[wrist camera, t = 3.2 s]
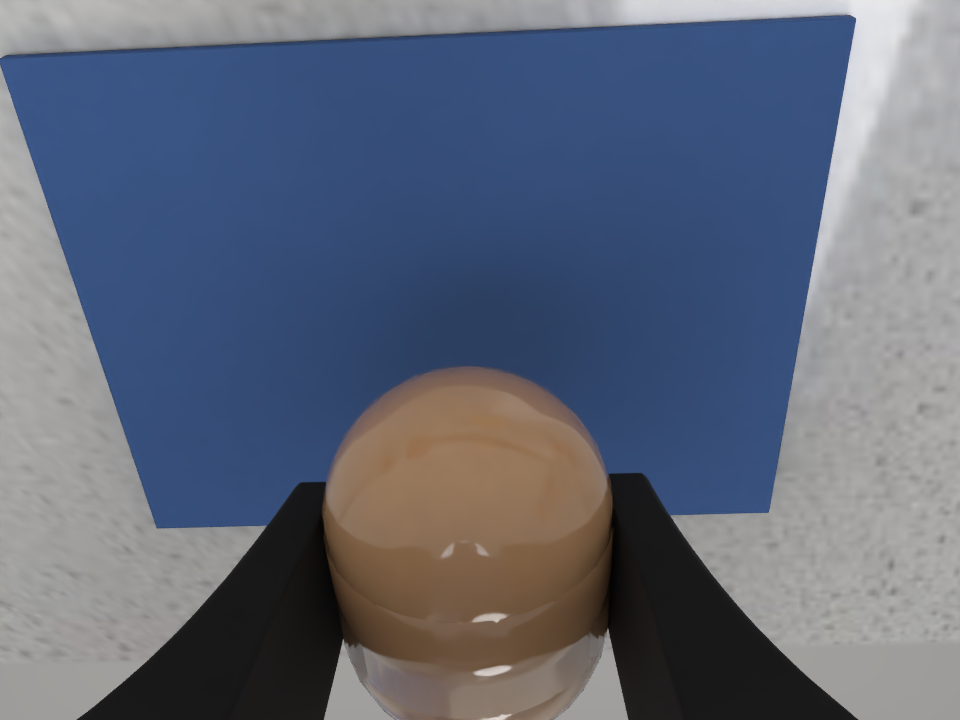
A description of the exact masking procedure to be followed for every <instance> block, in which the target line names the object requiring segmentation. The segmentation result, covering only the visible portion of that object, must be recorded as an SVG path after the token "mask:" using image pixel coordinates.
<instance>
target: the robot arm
mask: <svg viewBox="0 0 960 720" xmlns="http://www.w3.org/2000/svg"><path fill="white" fill-rule="evenodd" d="M608 475H609V478H610V481H611V484H612V501H613V518H614V529H613V550H612V571H611V592H610V613H609V625H608V629H609V634H610V639H611V643H612V648H613V652H614V657H615V661H616V666H617V671H618V675H619V679H620V684H621V688H622V693H623V697H624V702H625V706H626V711H627V715H628V719H629V720H858V719H857V718H855V717H854V716H853V715H852V714H851V713H850V712H848V711H847V710H846V709H845V708H844V707H843V706H841V705H840V704H839V703H838V702H837V701H835V700H834V699H833V698H832V697H831V696H830V695H828V694H827V693H826V692H825V691H824V690H822V689H821V688H820V687H819V686H817V684H815V683H814V682H813V681H812V680H811V679H809V678H808V677H807V676H806V675H805V674H804V673H803V672H802V671H800V669H799V668H797V666H796V665H794V664H793V663H792V662H791V661H790V660H789V659H788V658H787V657H786V656H785V655H784V654H783V653H782V652H781V651H780V650H779V649H778V648H777V647H776V646H775V645H774V644H773V643H772V642H771V641H770V640H769V639H768V638H767V637H766V636H765V635H764V634H763V633H762V632H761V631H760V630H759V629H758V628H757V627H756V626H755V624H754V623H753V622H752V621H751V620H750V619H749V618H748V617H747V616H746V615H745V613H744V612H743V611H742V610H741V609H740V608H739V607H738V606H737V604H736V603H735V602H734V601H733V600H732V598H731V597H730V596H729V595H728V594H727V592H726V591H725V590H724V589H723V588H722V587H721V585H720V584H719V583H718V582H717V580H716V579H715V578H714V577H713V575H712V574H711V573H710V571H709V570H708V569H707V568H706V566H705V565H704V563H703V562H702V561H701V559H700V558H699V557H698V555H697V554H696V553H695V551H694V550H693V549H692V547H691V546H690V545H689V543H688V542H687V540H686V539H685V538H684V536H683V535H682V533H681V532H680V530H679V529H678V527H677V526H676V524H675V523H674V521H673V520H672V518H671V517H670V515H669V514H668V512H667V510H666V509H665V507H664V506H663V504H662V502H661V501H660V499H659V497H658V496H657V494H656V492H655V490H654V489H653V487H652V485H651V483H650V481H649V479H648V478H647V477H646V476H645V475H644V474H643V473H612V474H608ZM325 483H326V482H300V483H299V484H298V485H297V486H296V487H295V488H294V489H293V491H292V492H291V494H290V495H289V496H288V498H287V499H286V501H285V502H284V503H283V505H282V506H281V508H280V509H279V510H278V512H277V513H276V515H275V516H274V517H273V519H272V520H271V521H270V523H269V524H268V525H267V527H266V528H265V529H264V531H263V532H262V533H261V535H260V536H259V537H258V539H257V540H256V541H255V543H254V544H253V545H252V546H251V548H250V549H249V550H248V551H247V553H246V554H245V555H244V556H243V558H242V559H241V560H240V561H239V563H238V564H237V565H236V567H235V568H234V569H233V570H232V572H231V573H230V574H229V575H228V576H227V578H226V579H225V580H224V581H223V582H222V583H221V585H220V586H219V587H218V588H217V589H216V590H215V591H214V592H213V594H212V595H211V596H210V597H209V598H208V599H207V600H206V601H205V603H204V604H203V605H202V606H201V607H200V608H199V609H198V611H197V612H196V613H195V614H194V615H193V616H192V617H191V618H190V619H189V620H188V621H187V622H186V623H185V624H184V625H183V626H182V628H181V629H180V630H179V631H178V632H177V633H176V634H175V635H174V636H173V637H172V638H171V639H170V640H169V641H168V642H167V643H166V644H165V645H164V646H162V647H161V648H160V649H159V650H158V651H157V652H156V653H155V654H154V655H153V656H152V657H151V658H150V659H149V660H148V661H147V662H146V663H145V664H143V665H142V666H141V667H140V668H139V669H138V670H137V671H136V672H134V673H133V674H132V675H131V676H130V677H129V678H127V679H126V680H125V681H124V682H123V683H122V684H121V685H119V686H118V687H117V688H116V689H114V690H113V691H112V692H111V693H110V694H108V695H107V696H106V697H105V698H104V699H103V700H101V701H100V702H99V703H98V704H97V705H95V706H94V707H93V708H92V709H90V710H89V711H88V712H86V713H85V714H84V715H82V716H81V717H80V718H78V719H77V720H324V716H325V712H326V708H327V704H328V700H329V695H330V691H331V687H332V683H333V679H334V675H335V671H336V667H337V663H338V658H339V654H340V650H341V646H342V641H343V634H342V630H341V625H340V620H339V615H338V609H337V604H336V599H335V594H334V589H333V584H332V579H331V574H330V569H329V564H328V559H327V554H326V549H325V543H324V535H323V523H322V503H323V494H324V488H325Z"/></svg>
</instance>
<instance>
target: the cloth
mask: <svg viewBox="0 0 960 720" xmlns="http://www.w3.org/2000/svg"><path fill="white" fill-rule="evenodd" d="M855 22H856V18H854V17H852V16H850V15H845V16H824V17H803V18H782V19H761V20H740V21H719V22H698V23H677V24H656V25H635V26H614V27H593V28H572V29H551V30H530V31H509V32H488V33H467V34H446V35H425V36H404V37H383V38H362V39H341V40H320V41H299V42H279V43H258V44H237V45H216V46H195V47H174V48H153V49H132V50H111V51H90V52H69V53H48V54H27V55H6V56H4V57H2V58H0V65H1V68H2V71H3V74H4V77H5V80H6V83H7V86H8V89H9V92H10V95H11V98H12V101H13V104H14V107H15V110H16V113H17V116H18V119H19V122H20V125H21V128H22V130H23V133H24V136H25V139H26V142H27V145H28V148H29V151H30V154H31V157H32V160H33V163H34V166H35V169H36V172H37V175H38V178H39V181H40V184H41V187H42V190H43V193H44V196H45V199H46V202H47V204H48V207H49V210H50V213H51V216H52V219H53V222H54V225H55V228H56V231H57V234H58V237H59V240H60V243H61V246H62V249H63V252H64V255H65V258H66V261H67V264H68V267H69V270H70V273H71V275H72V278H73V281H74V284H75V287H76V290H77V293H78V296H79V299H80V302H81V305H82V308H83V311H84V314H85V317H86V320H87V323H88V326H89V329H90V332H91V335H92V338H93V341H94V344H95V347H96V349H97V352H98V355H99V358H100V361H101V364H102V367H103V370H104V373H105V376H106V379H107V382H108V385H109V388H110V391H111V394H112V397H113V400H114V403H115V406H116V409H117V412H118V415H119V418H120V421H121V423H122V426H123V429H124V432H125V435H126V438H127V441H128V444H129V447H130V450H131V453H132V456H133V459H134V462H135V465H136V468H137V471H138V474H139V477H140V480H141V483H142V486H143V489H144V492H145V495H146V497H147V500H148V503H149V506H150V509H151V512H152V515H153V518H154V521H155V524H156V527H157V528H190V527H229V526H267V525H268V524H269V523H270V521H271V520H272V519H273V517H274V516H275V515H276V513H277V512H278V510H279V509H280V508H281V506H282V505H283V503H284V502H285V501H286V499H287V498H288V496H289V495H290V494H291V492H292V491H293V489H294V488H295V487H296V486H297V485H298V484H299V483H300V482H326V478H327V473H328V469H329V467H330V464H331V462H332V459H333V457H334V455H335V452H336V450H337V448H338V446H339V444H340V442H341V440H342V438H343V436H344V434H345V433H346V431H347V430H348V429H349V427H350V426H351V425H352V423H353V422H354V421H355V419H356V418H357V417H358V416H359V415H360V414H361V413H362V412H363V411H364V409H365V408H366V407H367V406H368V405H369V404H370V403H371V402H373V401H374V400H375V399H376V398H377V397H378V396H379V395H381V394H382V393H384V392H386V391H387V390H389V389H390V388H392V387H394V386H395V385H397V384H399V383H401V382H402V381H404V380H406V379H408V378H410V377H412V376H415V375H417V374H419V373H423V372H426V371H429V370H432V369H437V368H442V367H447V366H458V365H481V366H489V367H495V368H499V369H503V370H507V371H510V372H513V373H515V374H518V375H520V376H523V377H525V378H528V379H530V380H533V381H535V382H537V383H539V384H540V385H542V386H544V387H545V388H547V389H549V390H550V391H551V392H553V393H554V394H555V395H556V396H557V397H559V398H560V399H561V400H562V401H563V402H564V403H566V404H567V405H568V406H569V407H570V408H571V409H572V410H573V411H574V412H575V413H577V415H578V416H579V418H580V419H581V421H582V422H583V424H584V425H585V427H586V428H587V429H588V431H589V432H590V434H591V435H592V437H593V438H594V440H595V441H596V443H597V444H598V446H599V449H600V452H601V454H602V457H603V460H604V463H605V466H606V469H607V472H608V474H612V473H643V474H644V475H645V476H646V477H647V478H648V479H649V481H650V483H651V485H652V487H653V489H654V490H655V492H656V494H657V496H658V497H659V499H660V501H661V502H662V504H663V506H664V507H665V509H666V510H667V512H668V514H669V515H694V514H733V513H768V512H769V508H770V503H771V497H772V492H773V486H774V480H775V475H776V469H777V463H778V458H779V452H780V446H781V441H782V435H783V429H784V424H785V418H786V412H787V407H788V401H789V395H790V390H791V384H792V378H793V373H794V367H795V361H796V356H797V350H798V344H799V339H800V333H801V328H802V322H803V316H804V311H805V305H806V299H807V294H808V288H809V282H810V277H811V271H812V265H813V260H814V254H815V248H816V243H817V237H818V231H819V226H820V220H821V214H822V209H823V203H824V197H825V192H826V186H827V180H828V175H829V169H830V163H831V158H832V152H833V147H834V141H835V135H836V130H837V124H838V118H839V113H840V107H841V101H842V96H843V90H844V84H845V79H846V73H847V67H848V62H849V56H850V50H851V45H852V39H853V33H854V28H855Z"/></svg>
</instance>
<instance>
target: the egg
mask: <svg viewBox="0 0 960 720" xmlns="http://www.w3.org/2000/svg"><path fill="white" fill-rule="evenodd" d="M322 523H323V535H324V543H325V549H326V554H327V559H328V564H329V569H330V574H331V579H332V584H333V589H334V594H335V599H336V604H337V609H338V615H339V620H340V625H341V630H342V634H343V639H344V643H345V646H346V649H347V652H348V655H349V658H350V660H351V663H352V665H353V667H354V669H355V671H356V673H357V675H358V678H359V680H360V682H361V683H362V684H363V686H364V687H365V688H366V689H367V691H368V692H369V693H370V695H371V696H372V697H373V698H374V699H375V701H377V703H378V704H379V705H380V707H381V708H382V709H383V710H384V712H386V713H387V714H388V715H390V716H391V717H392V718H393V719H395V720H554V719H555V718H556V717H558V716H559V715H560V714H562V713H563V712H564V711H565V710H566V709H568V708H569V707H570V706H571V704H572V703H573V702H574V701H575V700H576V699H577V697H578V696H579V695H580V694H581V693H582V691H583V690H584V688H585V686H586V685H587V683H588V681H589V679H590V678H591V675H592V674H593V671H594V670H595V668H596V666H597V664H598V662H599V660H600V658H601V655H602V651H603V647H604V643H605V638H606V634H607V629H608V625H609V613H610V592H611V571H612V550H613V529H614V518H613V501H612V484H611V481H610V478H609V475H608V472H607V469H606V466H605V463H604V460H603V457H602V454H601V452H600V449H599V446H598V444H597V443H596V441H595V440H594V438H593V437H592V435H591V434H590V432H589V431H588V429H587V428H586V427H585V425H584V424H583V422H582V421H581V419H580V418H579V416H578V415H577V413H575V412H574V411H573V410H572V409H571V408H570V407H569V406H568V405H567V404H566V403H564V402H563V401H562V400H561V399H560V398H559V397H557V396H556V395H555V394H554V393H553V392H551V391H550V390H549V389H547V388H545V387H544V386H542V385H540V384H539V383H537V382H535V381H533V380H530V379H528V378H525V377H523V376H520V375H518V374H515V373H513V372H510V371H507V370H503V369H499V368H495V367H489V366H481V365H458V366H447V367H442V368H437V369H432V370H429V371H426V372H423V373H419V374H417V375H415V376H412V377H410V378H408V379H406V380H404V381H402V382H401V383H399V384H397V385H395V386H394V387H392V388H390V389H389V390H387V391H386V392H384V393H382V394H381V395H379V396H378V397H377V398H376V399H375V400H374V401H373V402H371V403H370V404H369V405H368V406H367V407H366V408H365V409H364V411H363V412H362V413H361V414H360V415H359V416H358V417H357V418H356V419H355V421H354V422H353V423H352V425H351V426H350V427H349V429H348V430H347V431H346V433H345V434H344V436H343V438H342V440H341V442H340V444H339V446H338V448H337V450H336V452H335V455H334V457H333V459H332V462H331V464H330V467H329V469H328V473H327V478H326V483H325V488H324V494H323V503H322Z"/></svg>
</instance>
